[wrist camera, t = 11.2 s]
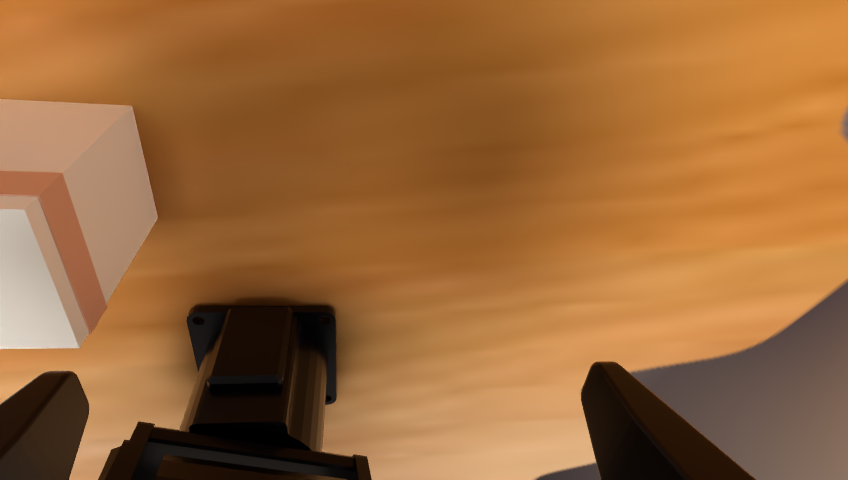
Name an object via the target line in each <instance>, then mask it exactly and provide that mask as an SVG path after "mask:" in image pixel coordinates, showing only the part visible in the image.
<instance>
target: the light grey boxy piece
mask: <svg viewBox="0 0 848 480" xmlns="http://www.w3.org/2000/svg"><path fill="white" fill-rule="evenodd" d="M157 219H158V215H157V211H156V207H155V202H154V198H153V194H152V189H151V185H150V181H149V176H148V172H147V168H146V163H145V159H144V155H143V150H142V146H141V142H140V138H139V133H138V129H137V125H136V120H135V116H134V112H133V107H132V106H129V105H110V104H90V103H71V102H51V101H32V100H13V99H0V349H39V348H80V346H81V345H82V343H83V341H84V340H85V338H86V337H87V335H88V334H91V333H92V332H93V330H94V328H95V327H96V325H97V323H98V322H99V320H100V318H101V317H102V315H103V313H104V312H105V310H106V308H107V305H106V303H107V302H108V300H109V299H110V297H111V295H112V294H113V292H114V290H115V289H116V287H117V285H118V284H119V282H120V280H121V279H122V277H123V275H124V274H125V272H126V270H127V269H128V267H129V265H130V264H131V262H132V261H133V259H134V257H135V256H136V254H137V252H138V251H139V249H140V247H141V246H142V244H143V242H144V241H145V239H146V237H147V236H148V234H149V232H150V231H151V229H152V227H153V226H154V224H155V223H156V221H157Z"/></svg>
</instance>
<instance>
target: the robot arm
mask: <svg viewBox="0 0 848 480" xmlns="http://www.w3.org/2000/svg"><path fill="white" fill-rule="evenodd" d="M322 316H327V317H329V318H322ZM197 317H201V318H203V319H199V318H197ZM187 324H188V329H189V333H190V338H191V342H192V346H193V351H194V355H195V359H196V364H197V368H198V376H197V379H196V382H195V385H194V388H193V391H192V394H191V397H190V400H189V403H188V406H187V409H186V412H185V415H184V418H183V421H182V424H181V427H180V430H174V429H167V428H161V427H154V425H155V424H152V423H145V422H138V424H137V426H136V428H135V430H134V432H133V434H132V436H131V438H130V440H124V442H123V444H122V446H120V447H117V448H114V449H112V450H111V452H110V454H109V456H108V459H107V461H106V463H105V466H104V468H103V470H102V472H101V475H100V477H99V479H98V480H372V479H371V474H370V470H369V465H368V460H367V456H360V455H353V456H352V457H351V456H345V455H338V454H332V453H325V452H322V444H323V428H324V413H325V405H328V404H332V403H334V402H335V401H336V395H337V369H336V312H335V310H334V309H333V308H331V307H327V306H199V307H194V308H192V309H191V310H190V311H189V314H188V316H187ZM581 401H582V406H583V410H584V414H585V418H586V422H587V426H588V430H589V434H590V438H591V443H592V447H593V451H594V455H595V459H596V463H597V467H598V470H599V474H600V477H601V480H756V479H755V478H754V477H752V476H751V475H750V474H749V473H748V472H746V471H745V470H744V469H743V468H742V467H740V466H739V465H738V464H737V463H736V462H734V461H733V460H732V459H731V458H730V457H729V456H727V455H726V454H725V453H724V452H723V451H722V450H720V449H719V448H718V447H717V446H716V445H714V444H713V443H712V442H711V441H710V440H708V439H707V438H706V437H705V436H704V435H702V434H701V433H700V432H699V431H698V430H697V429H695V428H694V427H693V426H692V425H691V424H689V423H688V422H687V421H686V420H685V419H683V418H682V417H681V416H680V415H679V414H678V413H676V412H675V411H674V410H673V409H671V408H670V407H669V406H668V405H667V404H666V403H664V402H663V401H662V400H661V399H660V398H658V397H657V396H656V395H655V394H654V393H653V392H651V391H650V390H649V389H648V388H647V387H645V386H644V385H643V384H642V383H641V382H639V381H638V380H637V379H636V378H635V377H634V376H632V375H631V374H630V373H629V372H628V371H626V370H625V369H624V368H623V367H622V366H620V365H619V364H618V363H616V362H595V363H594V364H592V366H591V368H590V370H589V373H588V375H587V378H586V380H585V383H584V385H583V388H582V392H581ZM88 415H89V403H88V400H87V398H86V395H85V393H84V391H83V388H82V386H81V384H80V381H79V379H78V377H77V375H76V374H75V373H74V372H72V371H49V372H45V373H43V374H41V375H39V376H38V377H37V378H35V379H34V380H32V381H31V382H30V383H28V384H27V385H26V386H24V387H23V388H22V389H20V390H19V391H18V392H16V393H15V394H14V395H12V396H11V397H9V398H8V399H7V400H5V401H4V402H3V403H1V404H0V480H69V477H70V474H71V470H72V467H73V464H74V461H75V458H76V454H77V451H78V448H79V445H80V441H81V438H82V435H83V432H84V428H85V425H86V422H87V419H88Z"/></svg>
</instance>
